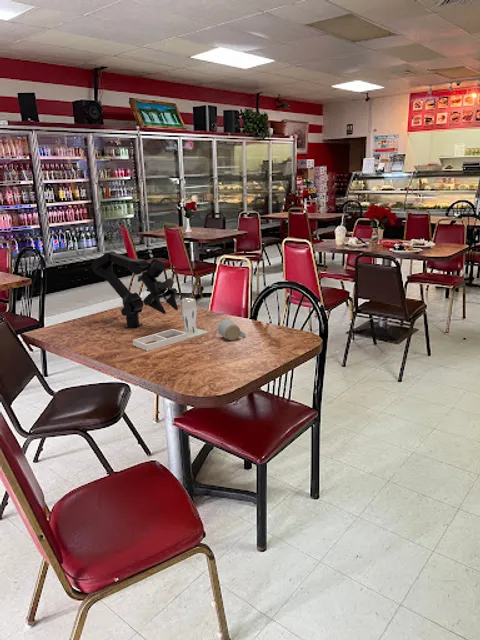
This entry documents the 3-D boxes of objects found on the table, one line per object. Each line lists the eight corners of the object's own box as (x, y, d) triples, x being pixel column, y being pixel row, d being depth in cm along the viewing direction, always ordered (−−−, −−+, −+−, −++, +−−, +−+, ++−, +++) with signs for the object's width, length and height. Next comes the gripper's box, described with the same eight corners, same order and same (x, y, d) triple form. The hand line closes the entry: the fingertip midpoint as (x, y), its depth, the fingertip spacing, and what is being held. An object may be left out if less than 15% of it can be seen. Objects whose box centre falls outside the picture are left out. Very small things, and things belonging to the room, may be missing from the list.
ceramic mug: (225, 342, 200) (225, 324, 198) (218, 337, 207) (217, 320, 205) (248, 338, 204) (248, 321, 202) (240, 333, 211) (239, 317, 209)
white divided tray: (147, 351, 193) (146, 345, 193) (133, 345, 201) (132, 340, 200) (208, 332, 214) (208, 327, 214) (194, 328, 222) (193, 323, 221)
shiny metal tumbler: (194, 329, 219) (191, 297, 215) (200, 333, 213) (198, 300, 209) (180, 332, 215) (177, 299, 211) (186, 336, 209) (183, 302, 205)
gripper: (149, 275, 205) (169, 304, 203) (174, 270, 221) (194, 297, 219) (134, 290, 210) (154, 319, 208) (160, 284, 226) (179, 311, 224)
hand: (171, 311), depth 215 cm, fingers open, 9 cm apart
